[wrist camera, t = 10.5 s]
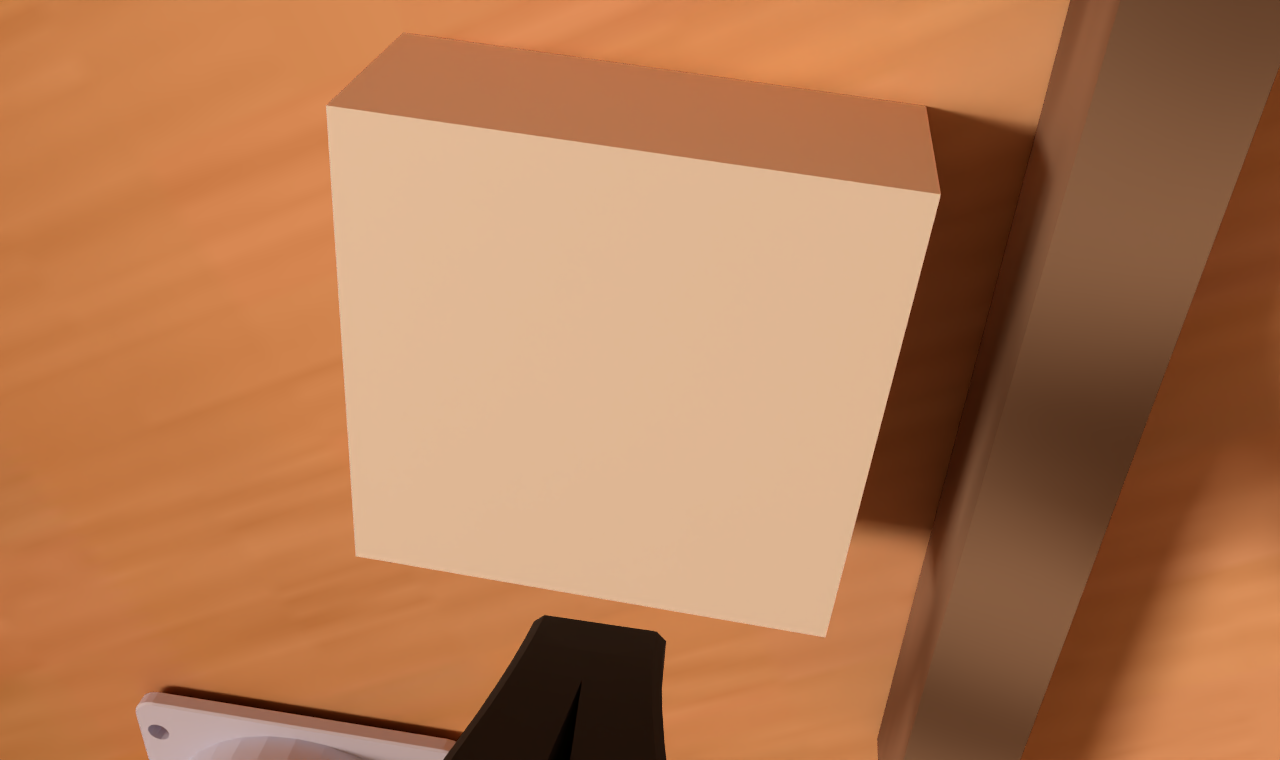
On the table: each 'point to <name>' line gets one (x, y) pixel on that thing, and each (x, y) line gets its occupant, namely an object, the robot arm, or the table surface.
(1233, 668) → the table surface
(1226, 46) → the stop rail
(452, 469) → the wooden block
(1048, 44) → the table surface
